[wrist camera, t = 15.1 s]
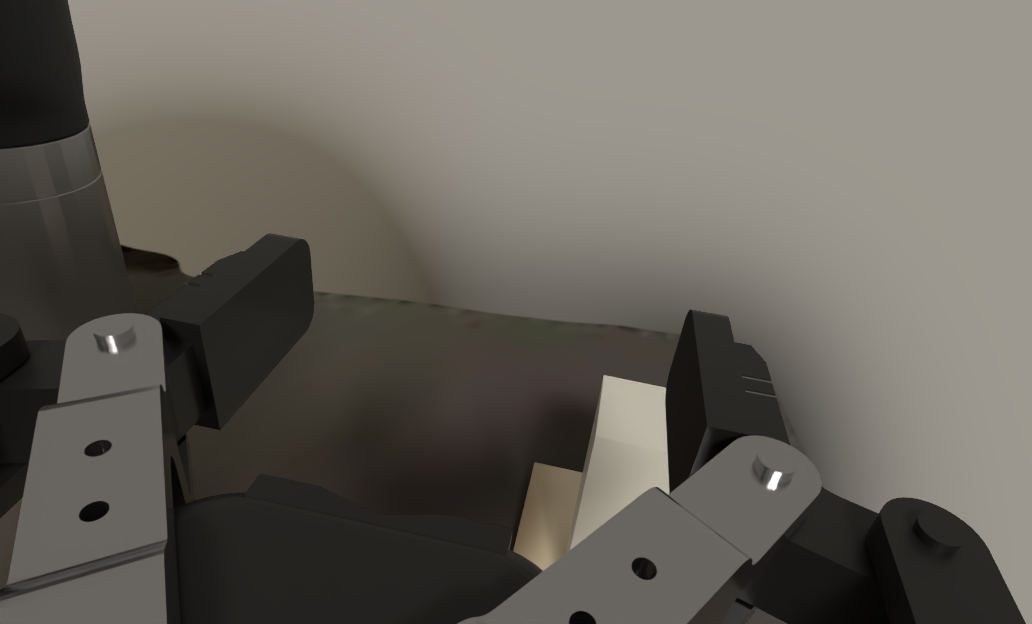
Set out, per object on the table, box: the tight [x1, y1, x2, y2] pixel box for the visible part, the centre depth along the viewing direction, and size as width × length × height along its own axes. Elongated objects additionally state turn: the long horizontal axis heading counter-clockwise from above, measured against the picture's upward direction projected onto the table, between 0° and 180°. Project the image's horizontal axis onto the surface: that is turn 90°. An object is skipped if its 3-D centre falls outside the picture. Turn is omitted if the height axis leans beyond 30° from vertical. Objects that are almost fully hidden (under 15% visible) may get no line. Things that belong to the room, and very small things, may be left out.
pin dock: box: [513, 462, 582, 571], centre depth 32 cm, size 10×14×4 cm
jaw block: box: [566, 375, 669, 553], centre depth 30 cm, size 4×4×11 cm
